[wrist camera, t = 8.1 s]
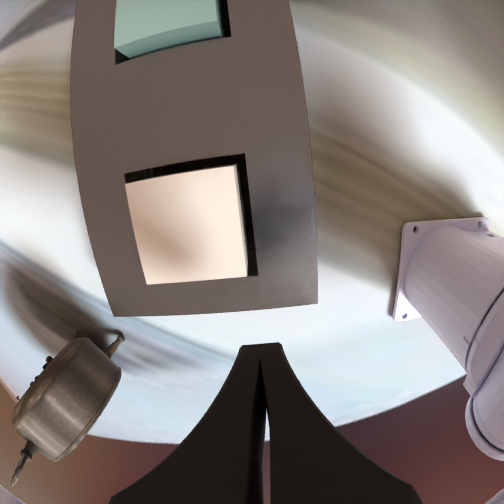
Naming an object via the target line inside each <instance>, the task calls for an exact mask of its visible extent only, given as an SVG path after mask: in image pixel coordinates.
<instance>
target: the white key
mask: <svg viewBox="0 0 504 504" xmlns="http://www.w3.org/2000/svg"><path fill="white" fill-rule="evenodd" d="M125 187H126V193H127V199H128V205H129V210H130V215H131V220H132V225H133V230H134V234H135V239H136V243H137V248H138V252H139V256H140V260H141V264H142V268H143V272H144V276H145V279H146V283H147V285H148V284H162V283H176V282H189V281H201V280H213V279H225V278H236V277H247V267H248V250H249V247H248V238H247V230H246V221H245V213H244V204H243V196H242V187H241V178H240V170H239V163H238V164H230V165H222V166H214V167H207V168H200V169H194V170H188V171H181V172H176V173H170V174H164V175H159V176H154V177H150V178H146V179H142V180H138V181H135V182H131V183H128V184H125Z"/></svg>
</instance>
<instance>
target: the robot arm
mask: <svg viewBox="0 0 504 504" xmlns="http://www.w3.org/2000/svg"><path fill="white" fill-rule="evenodd" d="M415 226H416V230H415V231H414V232H413V228H414V227H415ZM403 314H405V315H404V316H403ZM419 317H422V318H423V319H424V320H425V321H426V322H427V323H428V325H429V326H430V327H431V328H432V329H433V330H434V332H435V333H436V334H437V335H438V336H439V338H440V339H441V340H442V341H443V343H444V344H445V345H446V346H447V348H448V349H449V350H450V351H451V353H452V354H453V355H454V356H455V358H456V359H457V360H458V361H459V363H460V364H461V365H462V367H463V368H464V369H465V371H466V372H467V377H466V380H465V382H464V384H463V385H464V386H465V388H466V390H467V391H468V392H469V394H470V395H471V397H470V398H469V401H468V403H467V406H466V413H465V419H466V425H467V429H468V432H469V434H470V436H471V438H472V440H473V441H474V443H475V444H476V446H477V447H478V448H479V449H480V450H481V451H482V452H483V453H485V454H486V455H488V456H489V457H492V458H494V459H497V460H502V461H504V238H503V237H501V236H499V235H497V234H495V233H493V232H491V231H489V219H488V218H486V217H477V218H460V219H445V220H430V221H416V222H407V223H405V224H404V225H403V228H402V240H401V254H400V265H399V274H398V282H397V290H396V297H395V304H394V310H393V320H394V321H395V322H402V321H406V320H411V319H415V318H419ZM266 408H267V414H268V421H269V428H270V471H271V472H270V477H271V479H270V480H271V481H270V482H271V504H423V503H422V501H421V499H420V497H419V495H418V494H417V492H416V490H415V489H414V487H413V486H412V485H411V484H409V483H407V482H406V481H404V480H402V479H400V478H398V477H397V476H395V475H393V474H392V473H390V472H389V471H387V470H386V469H384V468H383V467H381V466H380V465H378V464H377V463H375V462H374V461H373V460H371V459H370V458H369V457H367V456H366V455H365V454H364V453H363V452H361V451H360V450H359V449H358V448H357V447H355V446H354V445H353V444H352V443H351V442H350V441H349V440H347V439H346V438H345V437H344V436H343V435H342V434H341V433H340V432H339V431H338V430H337V429H336V428H335V427H334V426H333V425H332V424H331V422H330V421H329V420H328V419H327V418H326V417H325V416H324V415H323V413H322V412H321V411H320V410H319V409H318V407H317V406H316V405H315V403H314V402H313V401H312V399H311V398H310V397H309V395H308V394H307V392H306V391H305V390H304V388H303V387H302V385H301V383H300V382H299V380H298V379H297V377H296V375H295V374H294V372H293V370H292V368H291V366H290V364H289V362H288V360H287V358H286V356H285V353H284V351H283V348H282V345H281V344H280V343H279V342H277V343H266V344H254V345H242V346H241V347H240V349H239V352H238V355H237V357H236V360H235V362H234V365H233V367H232V369H231V371H230V373H229V375H228V377H227V379H226V381H225V382H224V384H223V386H222V388H221V390H220V392H219V393H218V395H217V396H216V398H215V399H214V401H213V403H212V404H211V406H210V407H209V409H208V410H207V412H206V413H205V414H204V416H203V417H202V419H201V420H200V421H199V423H198V424H197V425H196V426H195V427H194V429H193V430H192V431H191V432H190V433H189V435H188V436H187V437H186V438H185V439H184V440H183V441H182V442H181V443H180V444H179V445H178V447H177V448H176V449H175V450H174V451H173V452H171V453H170V454H169V455H168V456H167V457H166V458H165V459H164V460H163V461H161V462H160V463H159V464H158V465H157V466H155V467H154V468H153V469H152V470H151V471H149V472H148V473H147V474H146V475H144V476H143V477H142V478H140V479H139V480H137V481H136V482H134V483H133V484H131V485H130V486H128V487H126V488H125V489H123V490H122V491H120V492H118V493H117V494H115V495H114V496H112V497H111V499H110V501H109V503H108V504H264V493H263V492H264V491H263V453H264V439H265V424H266ZM0 504H26V503H24V502H22V501H21V500H20V499H18V498H17V497H15V496H14V495H13V494H11V493H10V492H9V491H7V490H6V489H5V488H3V487H2V486H1V485H0ZM485 504H504V489H502V490H501V491H500V492H499V493H497V494H496V495H495V496H494V497H493V498H491V499H490V500H489V501H488V502H486V503H485Z"/></svg>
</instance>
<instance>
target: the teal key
mask: <svg viewBox="0 0 504 504" xmlns="http://www.w3.org/2000/svg"><path fill="white" fill-rule="evenodd" d="M219 38H224V29H223V20H222V11H221V2H220V0H117V2H116V14H115V32H114V48H115V49H116V50H118V51H119V52H121V53H122V54H124V55H125V56H127V57H128V58H130V59H134V58H137V57H140V56H143V55H147V54H150V53H154V52H157V51H161V50H165V49H169V48H173V47H177V46H181V45H186V44H191V43H196V42H201V41H207V40H213V39H219Z"/></svg>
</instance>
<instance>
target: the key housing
mask: <svg viewBox="0 0 504 504" xmlns="http://www.w3.org/2000/svg"><path fill="white" fill-rule="evenodd" d="M116 2H117V0H78V3H77V9H76V15H75V22H74V30H73V40H72V53H71V75H70V100H71V123H72V137H73V147H74V156H75V164H76V172H77V178H78V185H79V191H80V196H81V202H82V207H83V212H84V217H85V221H86V226H87V230H88V234H89V238H90V242H91V246H92V250H93V254H94V257H95V261H96V264H97V268H98V271H99V274H100V278H101V281H102V284H103V287H104V290H105V293H106V296H107V299H108V302H109V305H110V308H111V310H112V313H113V316H114V317H131V316H169V315H192V314H209V313H225V312H238V311H250V310H262V309H272V308H282V307H292V306H301V305H310V304H318V271H317V233H316V211H315V194H314V179H313V167H312V155H311V144H310V134H309V125H308V116H307V108H306V100H305V92H304V85H303V78H302V71H301V65H300V59H299V53H298V47H297V41H296V35H295V30H294V25H293V20H292V15H291V10H290V5H289V1H288V0H227V4H228V12H229V20H230V29H231V37H226V38H219V39H213V40H207V41H201V42H196V43H191V44H186V45H181V46H177V47H173V48H169V49H165V50H161V51H157V52H154V53H150V54H147V55H143V56H140V57H137V58H134V59H130V58H128V57H127V56H125V55H124V54H122V53H121V52H119V51H118V50H116V49H115V48H114V32H115V14H116ZM241 154H245V158H246V167H247V176H248V185H249V194H250V203H251V212H252V221H253V230H254V239H255V248H256V249H255V250H248V267H247V277H236V278H225V279H213V280H201V281H189V282H176V283H162V284H148V285H147V283H146V279H145V276H144V272H143V268H142V264H141V260H140V256H139V252H138V248H137V243H136V239H135V234H134V230H133V225H132V220H131V215H130V210H129V205H128V199H127V193H126V187H125V184H128V183H131V182H135V181H138V180H142V179H146V178H150V177H153V173H152V168H157V167H162V166H168V165H173V164H179V163H185V162H191V161H197V160H203V159H210V158H217V157H225V156H233V155H241Z"/></svg>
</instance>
